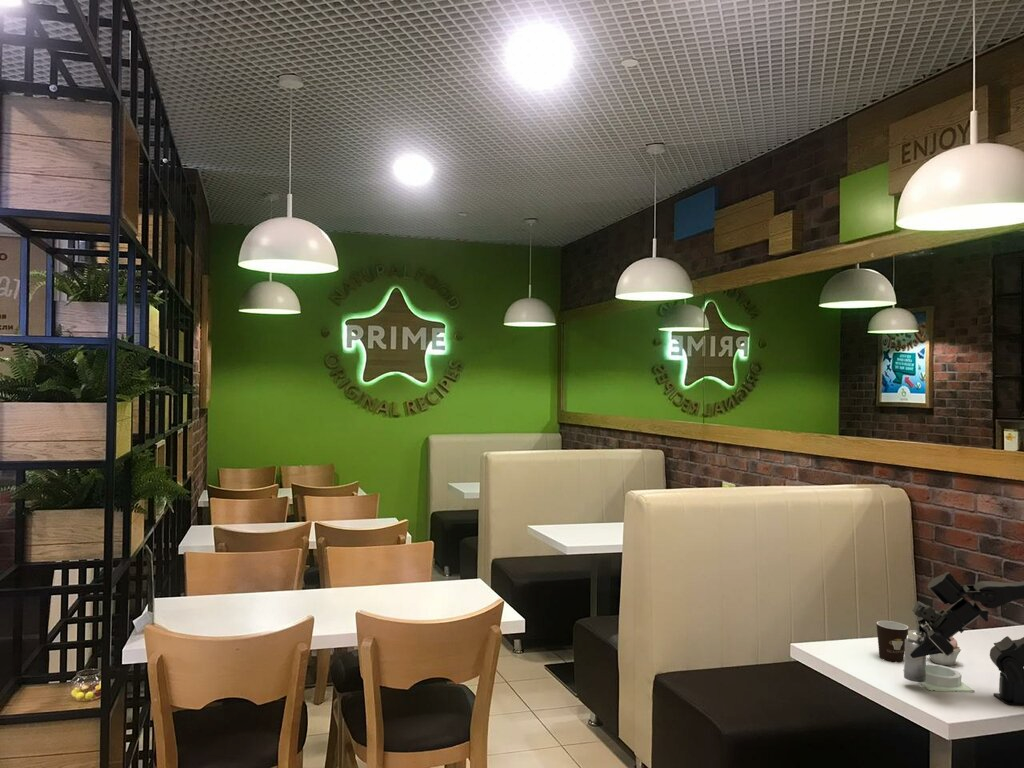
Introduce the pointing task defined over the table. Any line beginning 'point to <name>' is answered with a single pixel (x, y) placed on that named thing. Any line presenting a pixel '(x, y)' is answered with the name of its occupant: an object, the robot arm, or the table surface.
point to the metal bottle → (914, 666)
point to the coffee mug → (891, 640)
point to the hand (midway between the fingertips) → (909, 653)
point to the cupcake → (945, 659)
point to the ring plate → (944, 679)
